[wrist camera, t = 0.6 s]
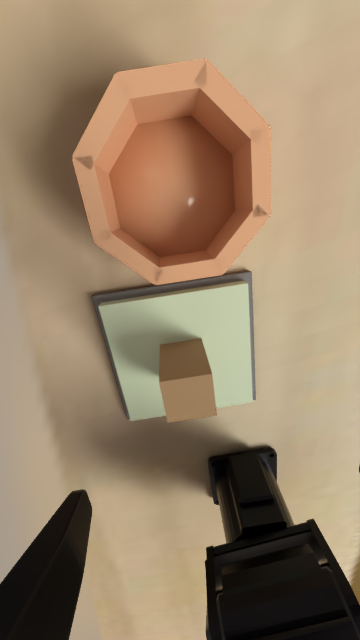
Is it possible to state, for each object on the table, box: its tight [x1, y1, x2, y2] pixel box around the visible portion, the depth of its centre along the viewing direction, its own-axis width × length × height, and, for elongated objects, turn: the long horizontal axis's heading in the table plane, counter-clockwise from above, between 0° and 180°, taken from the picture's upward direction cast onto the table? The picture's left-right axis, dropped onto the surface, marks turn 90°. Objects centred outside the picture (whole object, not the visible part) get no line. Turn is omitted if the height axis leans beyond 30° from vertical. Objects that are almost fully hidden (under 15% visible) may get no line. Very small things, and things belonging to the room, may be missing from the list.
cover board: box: [98, 280, 253, 423], centre depth 17 cm, size 10×10×5 cm
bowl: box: [72, 58, 271, 285], centre depth 14 cm, size 9×9×4 cm
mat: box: [92, 271, 256, 420], centre depth 20 cm, size 11×11×1 cm
